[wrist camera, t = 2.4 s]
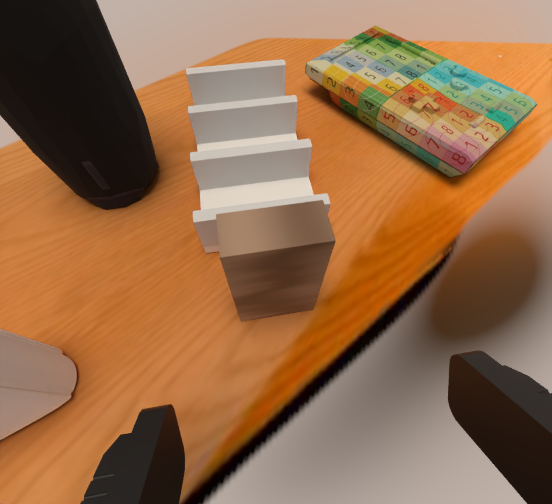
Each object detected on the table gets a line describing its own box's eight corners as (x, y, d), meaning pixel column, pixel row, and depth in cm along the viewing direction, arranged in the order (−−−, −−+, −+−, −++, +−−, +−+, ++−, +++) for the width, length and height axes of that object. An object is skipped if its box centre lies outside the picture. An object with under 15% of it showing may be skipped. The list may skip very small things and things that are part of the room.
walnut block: (241, 321, 23) (219, 257, 14) (237, 290, 24) (215, 214, 15) (313, 309, 23) (335, 240, 15) (306, 279, 25) (323, 199, 16)
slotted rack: (205, 253, 26) (193, 222, 22) (196, 108, 35) (186, 68, 31) (322, 236, 27) (330, 203, 23) (283, 99, 36) (284, 59, 32)
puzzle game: (480, 155, 25) (306, 54, 32) (451, 192, 29) (303, 95, 37) (544, 95, 29) (377, 17, 36) (511, 136, 33) (366, 58, 40)
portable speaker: (90, 144, 32) (-119, -175, 15) (178, 150, 32) (66, -171, 15) (53, 209, 28) (-295, -131, 11) (154, 217, 27) (-43, -123, 10)
